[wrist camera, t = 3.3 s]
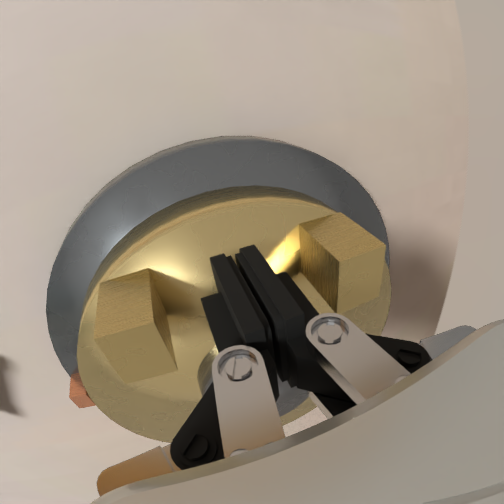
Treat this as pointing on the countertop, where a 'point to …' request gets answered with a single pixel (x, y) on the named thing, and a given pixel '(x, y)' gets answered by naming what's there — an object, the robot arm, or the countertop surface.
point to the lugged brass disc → (203, 284)
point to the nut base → (171, 191)
